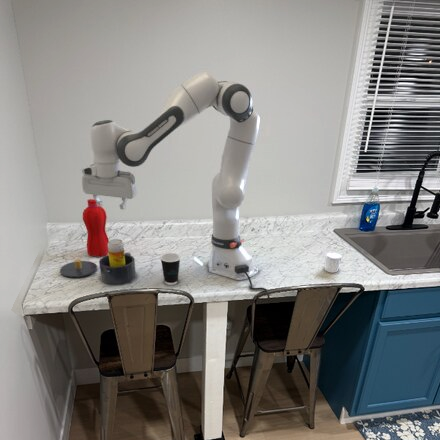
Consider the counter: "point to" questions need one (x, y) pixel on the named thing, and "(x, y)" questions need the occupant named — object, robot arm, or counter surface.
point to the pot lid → (78, 268)
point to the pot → (118, 271)
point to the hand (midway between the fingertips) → (111, 207)
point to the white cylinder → (332, 262)
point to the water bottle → (95, 229)
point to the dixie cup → (170, 267)
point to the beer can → (116, 253)
